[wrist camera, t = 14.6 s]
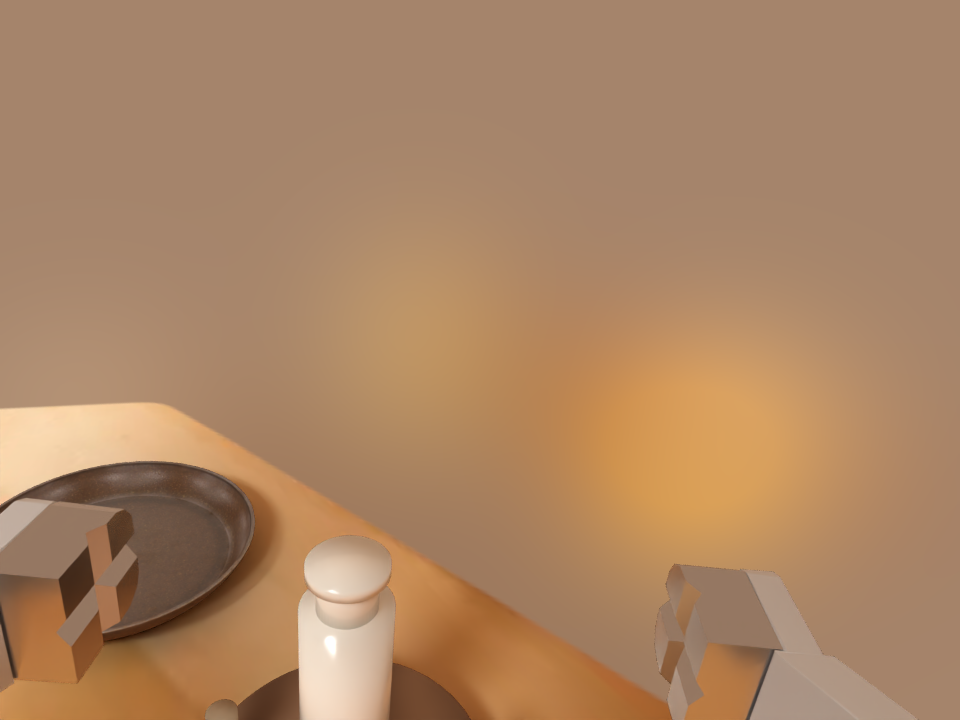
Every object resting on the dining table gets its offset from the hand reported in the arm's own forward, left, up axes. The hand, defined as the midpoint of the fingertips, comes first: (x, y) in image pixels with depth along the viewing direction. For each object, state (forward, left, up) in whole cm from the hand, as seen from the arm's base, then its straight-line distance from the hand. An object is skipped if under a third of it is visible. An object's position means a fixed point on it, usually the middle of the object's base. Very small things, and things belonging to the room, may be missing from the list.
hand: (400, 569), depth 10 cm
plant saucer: (-26, +35, -32) cm, 54 cm away
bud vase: (-4, +17, -29) cm, 34 cm away
